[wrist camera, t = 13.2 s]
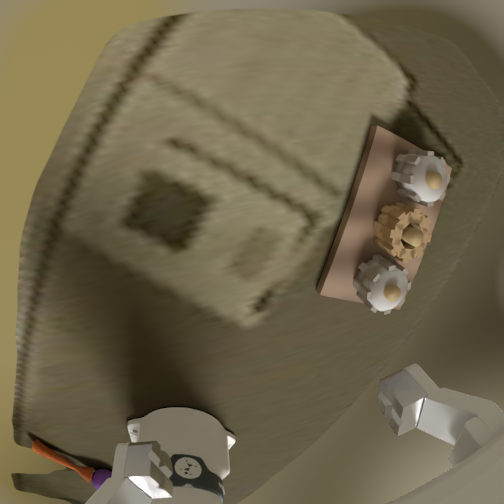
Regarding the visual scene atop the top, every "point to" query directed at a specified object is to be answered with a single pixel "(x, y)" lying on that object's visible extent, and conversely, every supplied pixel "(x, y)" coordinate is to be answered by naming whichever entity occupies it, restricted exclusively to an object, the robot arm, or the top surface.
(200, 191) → the top surface
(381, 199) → the gear board
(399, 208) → the oak gear
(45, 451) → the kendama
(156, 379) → the top surface
